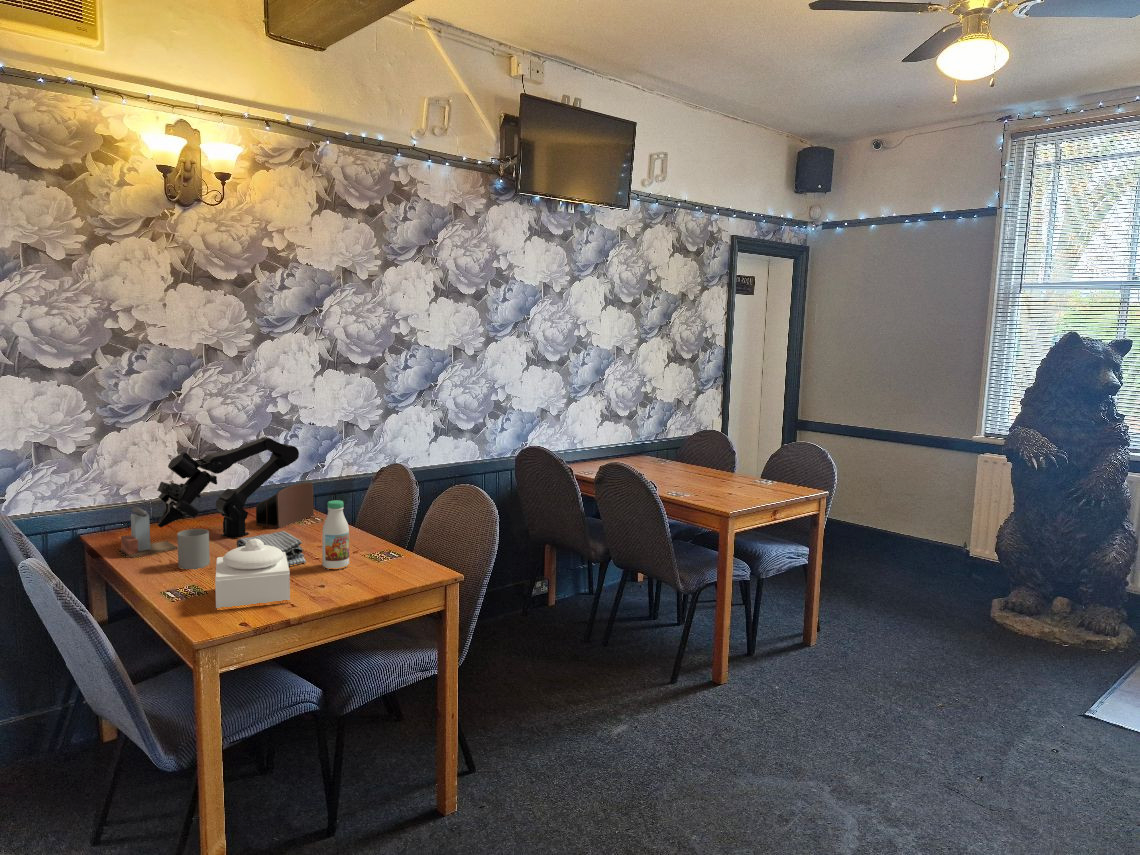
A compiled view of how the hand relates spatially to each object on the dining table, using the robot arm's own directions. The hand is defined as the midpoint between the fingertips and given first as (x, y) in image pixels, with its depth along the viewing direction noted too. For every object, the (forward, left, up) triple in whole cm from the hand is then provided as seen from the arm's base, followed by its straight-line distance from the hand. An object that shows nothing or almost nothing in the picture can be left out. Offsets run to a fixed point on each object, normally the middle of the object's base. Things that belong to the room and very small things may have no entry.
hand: (159, 526), depth 243 cm
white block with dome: (-55, +22, -8) cm, 60 cm away
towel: (-39, -4, -8) cm, 40 cm away
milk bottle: (-60, -7, -7) cm, 61 cm away
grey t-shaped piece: (+2, +5, -7) cm, 9 cm away
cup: (-22, +9, -7) cm, 25 cm away
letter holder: (-12, -44, -8) cm, 47 cm away
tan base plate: (+1, +3, -7) cm, 8 cm away
